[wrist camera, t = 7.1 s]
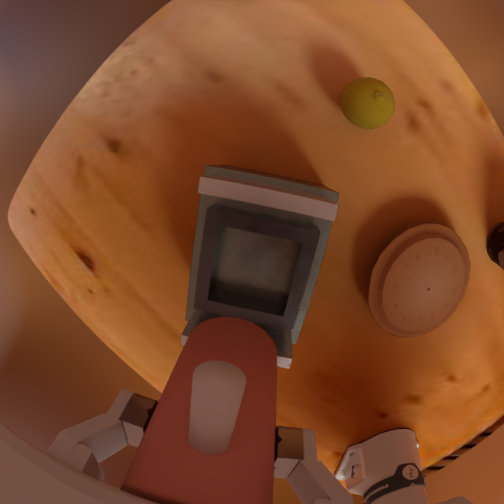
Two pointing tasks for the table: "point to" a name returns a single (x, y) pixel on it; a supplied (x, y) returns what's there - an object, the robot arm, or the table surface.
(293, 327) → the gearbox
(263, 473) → the pink cylinder with stub
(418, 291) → the pie
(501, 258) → the coffee cup
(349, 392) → the table surface
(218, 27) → the table surface
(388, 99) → the lemon
